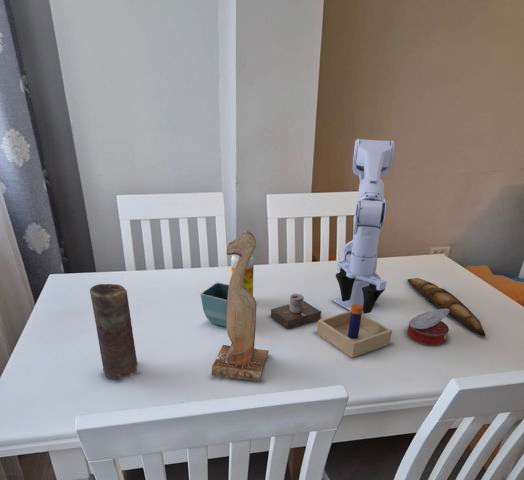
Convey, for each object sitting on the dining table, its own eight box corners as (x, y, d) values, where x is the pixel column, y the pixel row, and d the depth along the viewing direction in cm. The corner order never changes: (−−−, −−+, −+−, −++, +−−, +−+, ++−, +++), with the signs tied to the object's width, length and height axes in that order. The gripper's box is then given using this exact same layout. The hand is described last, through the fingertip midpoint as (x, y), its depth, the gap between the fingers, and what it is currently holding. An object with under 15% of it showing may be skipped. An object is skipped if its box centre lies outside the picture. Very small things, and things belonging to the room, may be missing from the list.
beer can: (250, 309, 134) (251, 258, 126) (229, 307, 135) (228, 256, 127) (254, 300, 139) (255, 251, 131) (234, 298, 140) (234, 249, 132)
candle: (107, 361, 109) (93, 280, 98) (140, 361, 110) (129, 280, 99) (100, 381, 102) (85, 296, 92) (135, 380, 103) (123, 296, 93)
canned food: (427, 361, 122) (423, 337, 115) (401, 339, 129) (396, 315, 121) (461, 336, 123) (460, 310, 115) (434, 316, 130) (431, 291, 122)
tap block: (302, 308, 135) (303, 299, 134) (320, 319, 130) (321, 310, 128) (270, 317, 130) (271, 308, 129) (287, 329, 125) (288, 320, 123)
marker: (353, 332, 122) (357, 302, 118) (360, 337, 120) (365, 307, 116) (345, 335, 121) (349, 305, 117) (352, 340, 119) (357, 309, 115)
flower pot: (245, 318, 129) (246, 288, 124) (230, 332, 122) (230, 301, 117) (217, 311, 132) (216, 281, 127) (200, 325, 125) (199, 293, 121)
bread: (400, 282, 153) (403, 268, 151) (413, 281, 155) (416, 266, 152) (476, 340, 122) (481, 323, 120) (492, 338, 124) (498, 321, 121)
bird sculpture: (220, 351, 114) (217, 219, 97) (268, 355, 113) (274, 222, 97) (211, 378, 105) (206, 236, 88) (264, 382, 104) (269, 240, 87)
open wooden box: (352, 322, 129) (354, 309, 127) (389, 344, 119) (392, 330, 117) (316, 333, 123) (318, 320, 121) (352, 358, 113) (354, 343, 111)
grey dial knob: (297, 306, 131) (298, 291, 129) (305, 311, 128) (306, 296, 126) (286, 308, 129) (287, 294, 127) (294, 314, 127) (295, 299, 124)
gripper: (330, 246, 113) (324, 298, 120) (373, 266, 102) (364, 322, 110) (352, 242, 116) (345, 292, 123) (396, 261, 106) (386, 315, 113)
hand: (356, 306), depth 117 cm, fingers open, 7 cm apart
